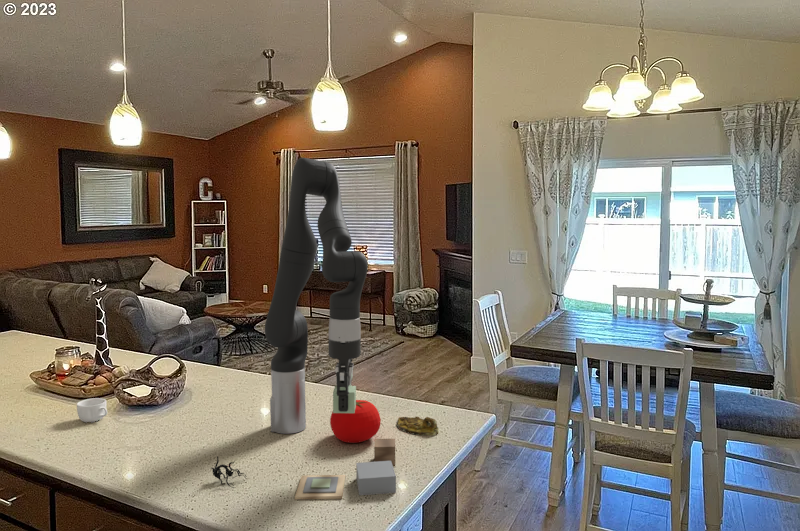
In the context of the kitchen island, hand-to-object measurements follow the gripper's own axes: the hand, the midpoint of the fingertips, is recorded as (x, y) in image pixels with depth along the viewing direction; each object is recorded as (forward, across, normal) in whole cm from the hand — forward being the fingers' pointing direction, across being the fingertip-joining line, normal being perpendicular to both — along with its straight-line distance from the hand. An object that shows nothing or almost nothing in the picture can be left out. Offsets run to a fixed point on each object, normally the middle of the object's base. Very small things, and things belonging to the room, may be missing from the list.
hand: (344, 406), depth 139 cm
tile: (+15, +11, -4) cm, 19 cm away
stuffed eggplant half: (+15, -25, +18) cm, 35 cm away
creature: (+15, +7, -25) cm, 30 cm away
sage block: (+1, 0, 0) cm, 1 cm away
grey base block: (+15, +10, +8) cm, 19 cm away
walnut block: (+15, -2, +10) cm, 18 cm away
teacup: (+16, -32, -76) cm, 84 cm away
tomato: (+15, -17, +2) cm, 23 cm away
